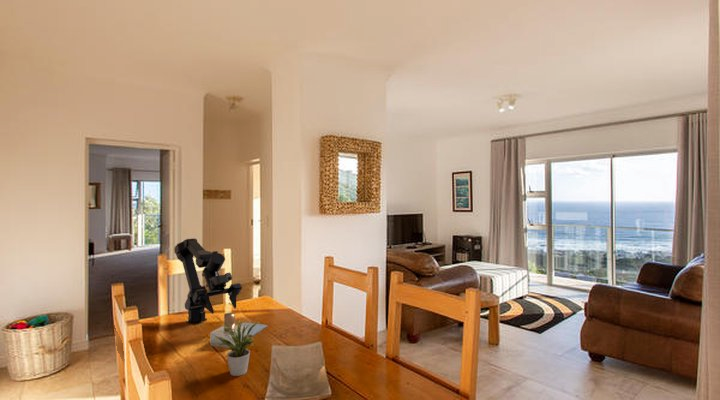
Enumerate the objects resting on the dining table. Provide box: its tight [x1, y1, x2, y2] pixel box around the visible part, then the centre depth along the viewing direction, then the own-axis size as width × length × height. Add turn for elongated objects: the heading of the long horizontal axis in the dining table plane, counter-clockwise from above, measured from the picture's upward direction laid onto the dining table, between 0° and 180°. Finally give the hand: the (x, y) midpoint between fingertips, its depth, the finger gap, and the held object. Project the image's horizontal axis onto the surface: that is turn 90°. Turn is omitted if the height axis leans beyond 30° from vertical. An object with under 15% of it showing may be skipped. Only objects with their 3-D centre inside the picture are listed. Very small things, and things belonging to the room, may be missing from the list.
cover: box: [209, 312, 249, 349], centre depth 147 cm, size 10×10×11 cm
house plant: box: [215, 319, 260, 377], centre depth 123 cm, size 14×14×16 cm
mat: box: [241, 322, 269, 337], centre depth 161 cm, size 12×12×1 cm
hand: (224, 310), depth 150 cm, fingers open, 9 cm apart
